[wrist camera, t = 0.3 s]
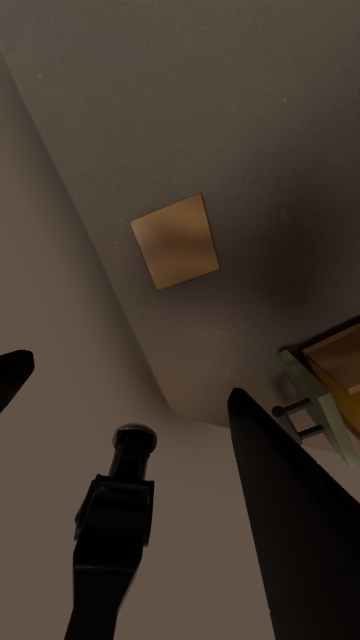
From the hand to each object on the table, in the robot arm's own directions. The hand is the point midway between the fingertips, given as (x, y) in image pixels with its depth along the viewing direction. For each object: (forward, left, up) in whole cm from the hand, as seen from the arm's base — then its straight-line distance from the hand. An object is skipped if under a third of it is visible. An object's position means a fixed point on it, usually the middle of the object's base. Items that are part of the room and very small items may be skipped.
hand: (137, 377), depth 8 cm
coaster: (+6, 0, -13) cm, 14 cm away
